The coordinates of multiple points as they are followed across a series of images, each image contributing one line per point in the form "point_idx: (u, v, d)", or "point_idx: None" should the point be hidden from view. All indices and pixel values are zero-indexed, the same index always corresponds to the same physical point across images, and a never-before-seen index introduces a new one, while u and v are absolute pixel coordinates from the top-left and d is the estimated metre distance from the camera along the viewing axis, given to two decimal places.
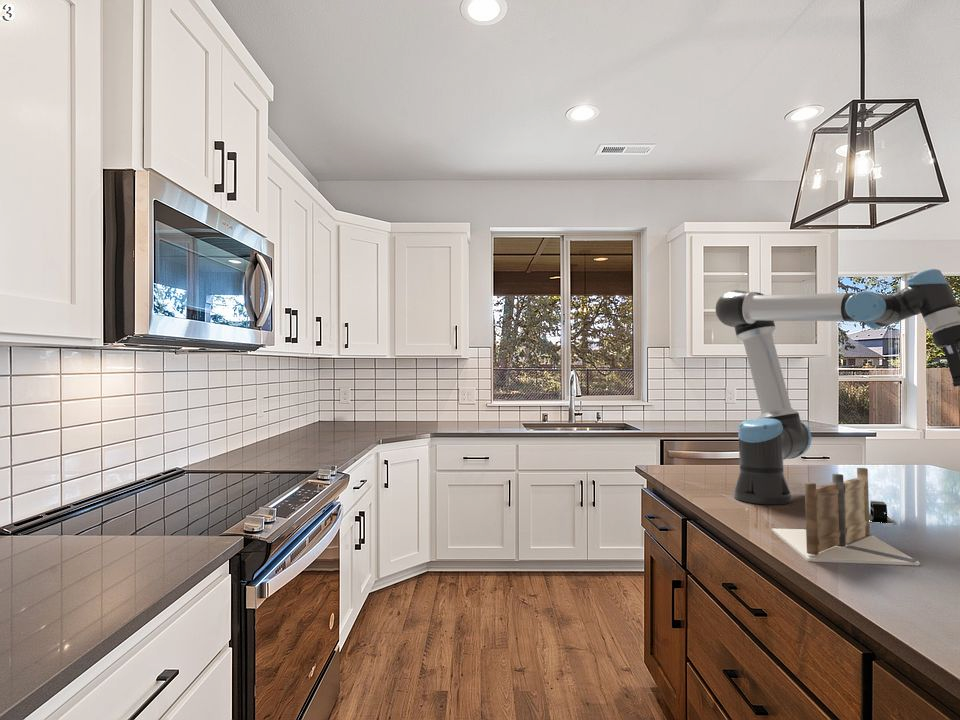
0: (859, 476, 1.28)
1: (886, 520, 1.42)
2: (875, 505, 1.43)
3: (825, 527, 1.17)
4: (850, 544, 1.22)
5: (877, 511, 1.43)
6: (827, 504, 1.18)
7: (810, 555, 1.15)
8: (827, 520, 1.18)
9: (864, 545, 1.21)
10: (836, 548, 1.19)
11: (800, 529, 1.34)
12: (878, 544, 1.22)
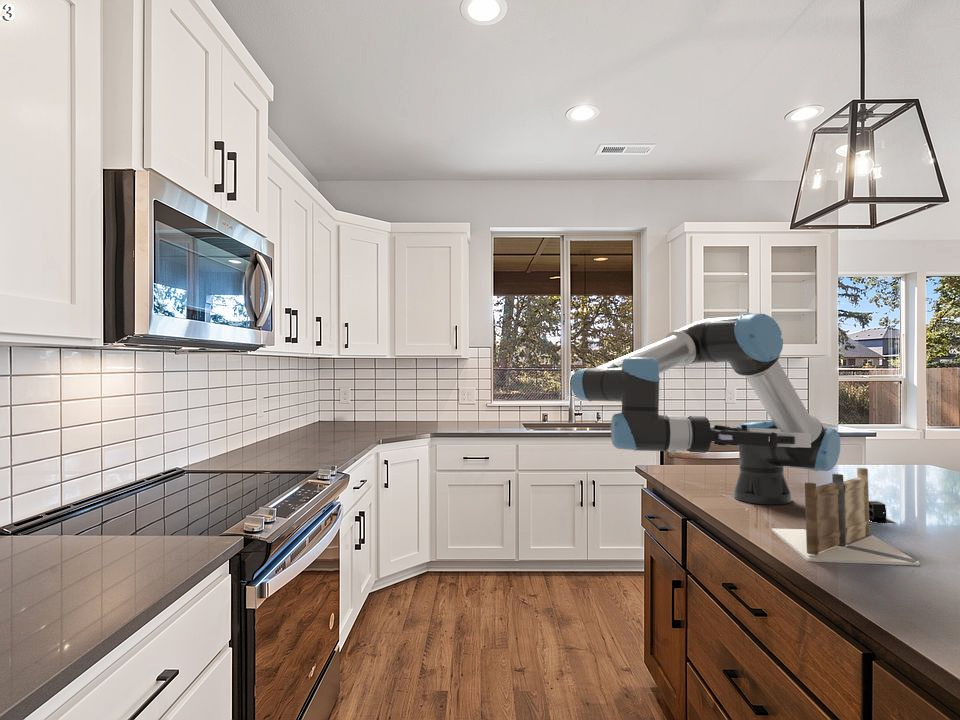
0: (859, 476, 1.28)
1: (886, 520, 1.42)
2: (875, 505, 1.43)
3: (825, 527, 1.17)
4: (850, 544, 1.22)
5: (877, 511, 1.43)
6: (827, 504, 1.18)
7: (810, 555, 1.15)
8: (827, 520, 1.18)
9: (864, 545, 1.21)
10: (836, 548, 1.19)
11: (800, 529, 1.34)
12: (878, 544, 1.22)
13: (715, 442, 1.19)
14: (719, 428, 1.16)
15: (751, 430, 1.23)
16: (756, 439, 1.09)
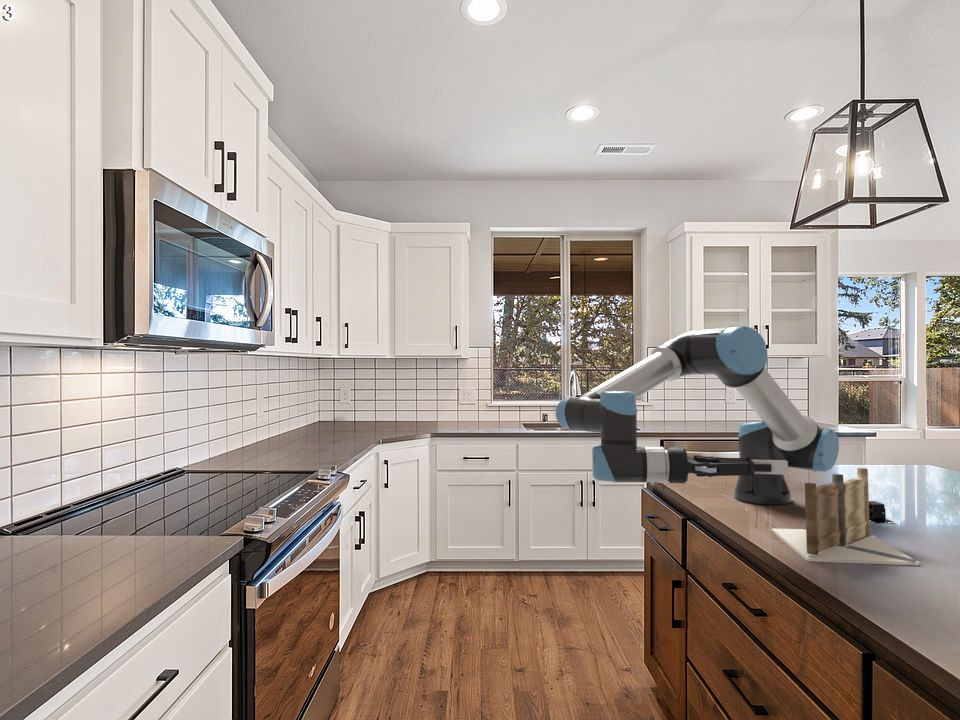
0: (859, 476, 1.28)
1: (886, 520, 1.42)
2: (874, 505, 1.43)
3: (825, 527, 1.17)
4: (850, 544, 1.22)
5: (877, 511, 1.43)
6: (827, 504, 1.18)
7: (810, 555, 1.15)
8: (827, 520, 1.18)
9: (864, 545, 1.21)
10: (836, 548, 1.19)
11: (800, 529, 1.34)
12: (878, 544, 1.22)
13: None
14: (699, 459, 1.18)
15: (754, 462, 1.17)
16: (737, 469, 1.14)
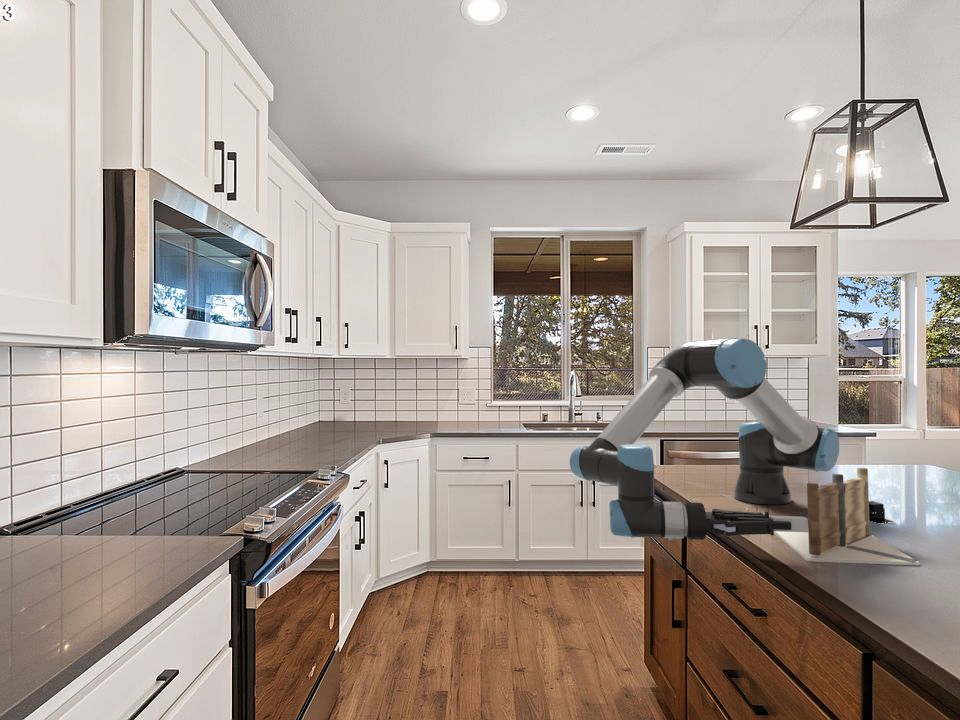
0: (859, 476, 1.28)
1: (886, 520, 1.42)
2: (874, 506, 1.43)
3: (826, 527, 1.17)
4: (850, 544, 1.22)
5: (877, 511, 1.43)
6: (828, 504, 1.18)
7: (810, 555, 1.15)
8: (828, 520, 1.17)
9: (864, 545, 1.21)
10: (836, 548, 1.19)
11: None
12: (878, 544, 1.22)
13: None
14: (717, 516, 1.17)
15: (773, 519, 1.17)
16: (757, 528, 1.13)
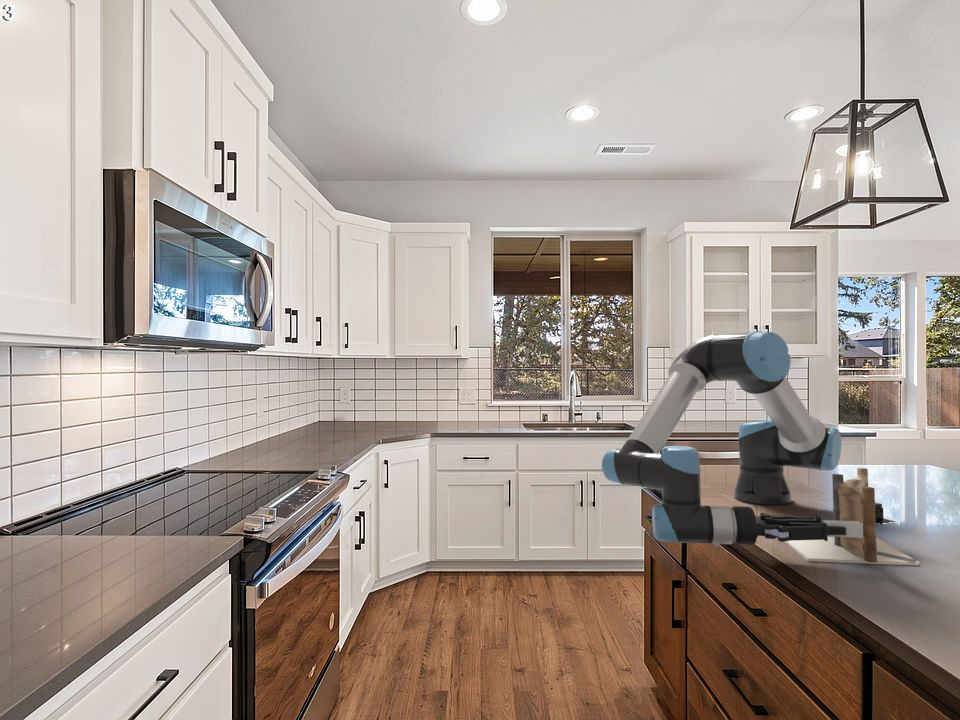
0: (859, 476, 1.28)
1: (885, 519, 1.42)
2: (875, 506, 1.43)
3: None
4: None
5: (877, 512, 1.42)
6: None
7: (810, 555, 1.15)
8: None
9: None
10: (836, 548, 1.19)
11: None
12: (878, 544, 1.22)
13: None
14: (767, 521, 1.12)
15: (825, 523, 1.12)
16: (811, 534, 1.08)
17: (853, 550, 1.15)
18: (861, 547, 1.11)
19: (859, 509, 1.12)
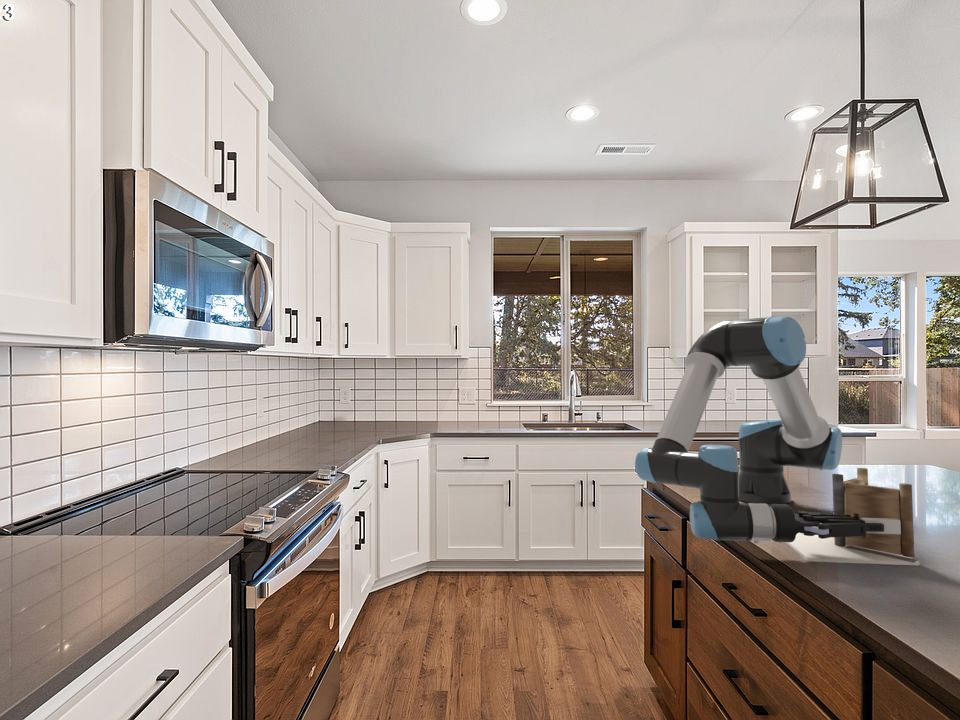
0: (859, 476, 1.28)
1: None
2: None
3: None
4: None
5: None
6: None
7: (810, 555, 1.15)
8: None
9: None
10: (836, 548, 1.19)
11: None
12: None
13: None
14: (806, 518, 1.14)
15: None
16: (850, 530, 1.10)
17: (876, 548, 1.16)
18: (896, 544, 1.13)
19: (891, 507, 1.14)
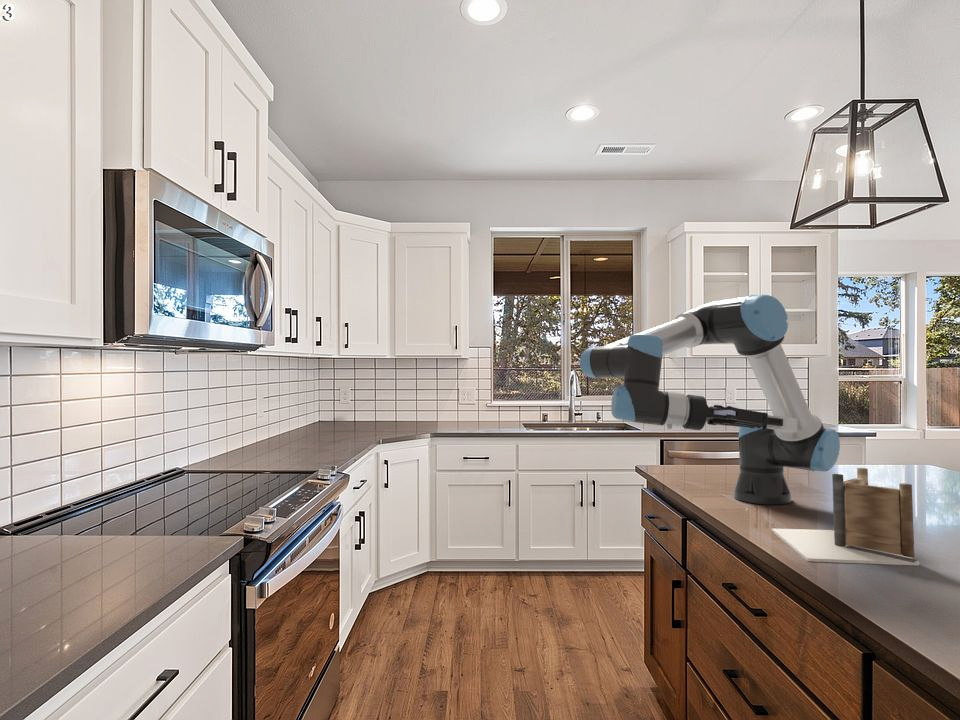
0: (859, 476, 1.28)
1: None
2: None
3: None
4: None
5: None
6: None
7: (810, 555, 1.15)
8: None
9: None
10: (836, 548, 1.19)
11: (800, 529, 1.34)
12: None
13: (709, 422, 1.25)
14: (716, 407, 1.22)
15: None
16: (754, 417, 1.19)
17: (876, 548, 1.16)
18: (896, 544, 1.13)
19: (891, 507, 1.14)
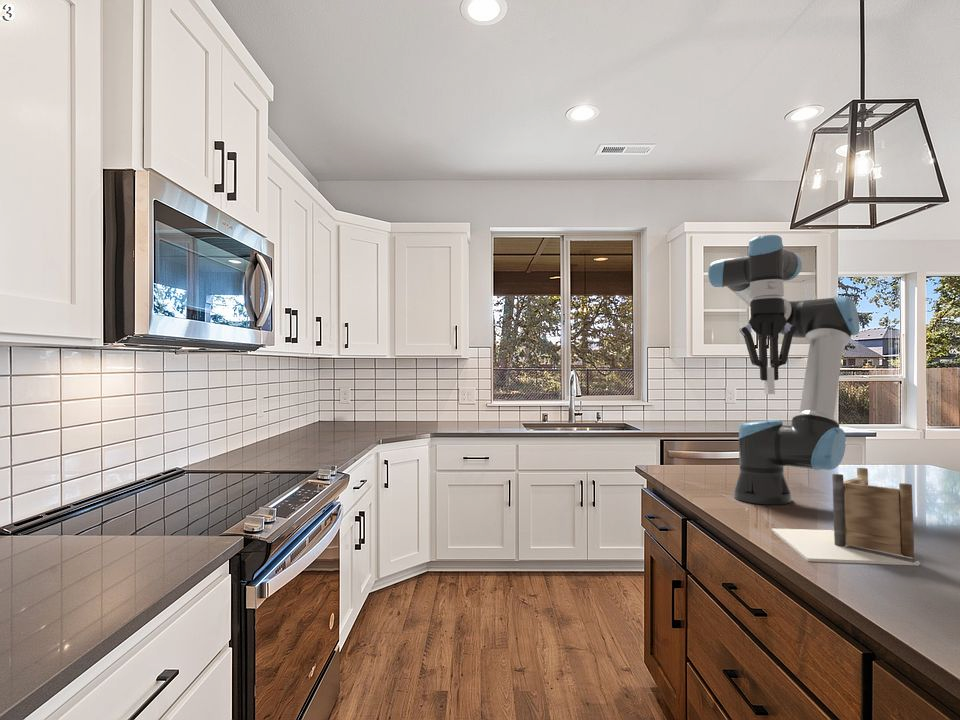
0: (859, 476, 1.28)
1: None
2: None
3: None
4: None
5: None
6: None
7: (810, 555, 1.15)
8: None
9: None
10: (836, 548, 1.19)
11: (800, 529, 1.34)
12: None
13: (763, 322, 1.40)
14: None
15: None
16: None
17: (876, 548, 1.16)
18: (896, 544, 1.13)
19: (891, 507, 1.14)
